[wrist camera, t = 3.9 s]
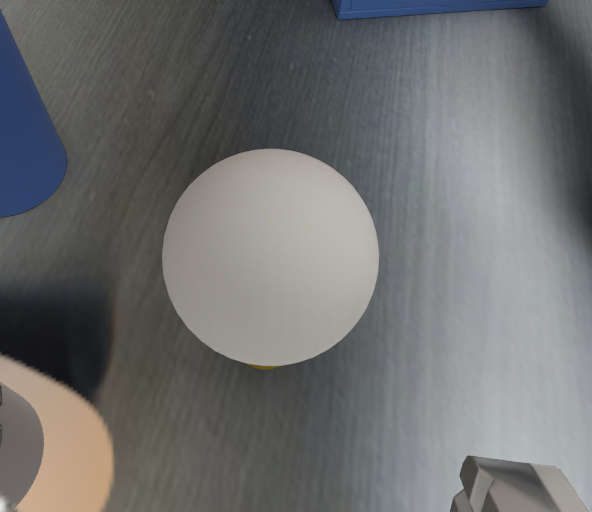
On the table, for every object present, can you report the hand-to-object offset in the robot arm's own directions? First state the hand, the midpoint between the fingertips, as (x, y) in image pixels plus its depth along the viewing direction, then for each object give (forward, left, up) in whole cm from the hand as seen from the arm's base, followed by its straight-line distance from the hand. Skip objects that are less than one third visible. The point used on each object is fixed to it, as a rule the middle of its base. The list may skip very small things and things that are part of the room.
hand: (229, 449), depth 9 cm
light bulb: (+2, +5, -10) cm, 12 cm away
